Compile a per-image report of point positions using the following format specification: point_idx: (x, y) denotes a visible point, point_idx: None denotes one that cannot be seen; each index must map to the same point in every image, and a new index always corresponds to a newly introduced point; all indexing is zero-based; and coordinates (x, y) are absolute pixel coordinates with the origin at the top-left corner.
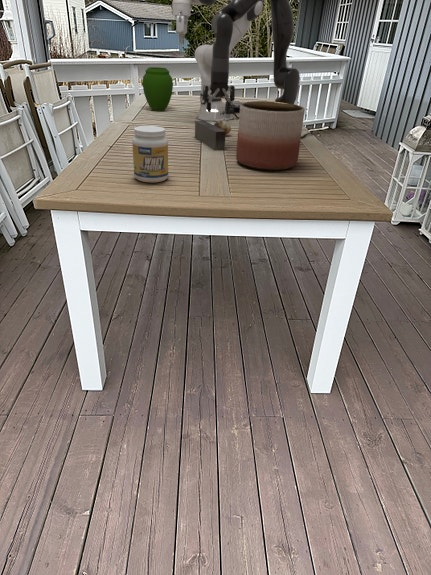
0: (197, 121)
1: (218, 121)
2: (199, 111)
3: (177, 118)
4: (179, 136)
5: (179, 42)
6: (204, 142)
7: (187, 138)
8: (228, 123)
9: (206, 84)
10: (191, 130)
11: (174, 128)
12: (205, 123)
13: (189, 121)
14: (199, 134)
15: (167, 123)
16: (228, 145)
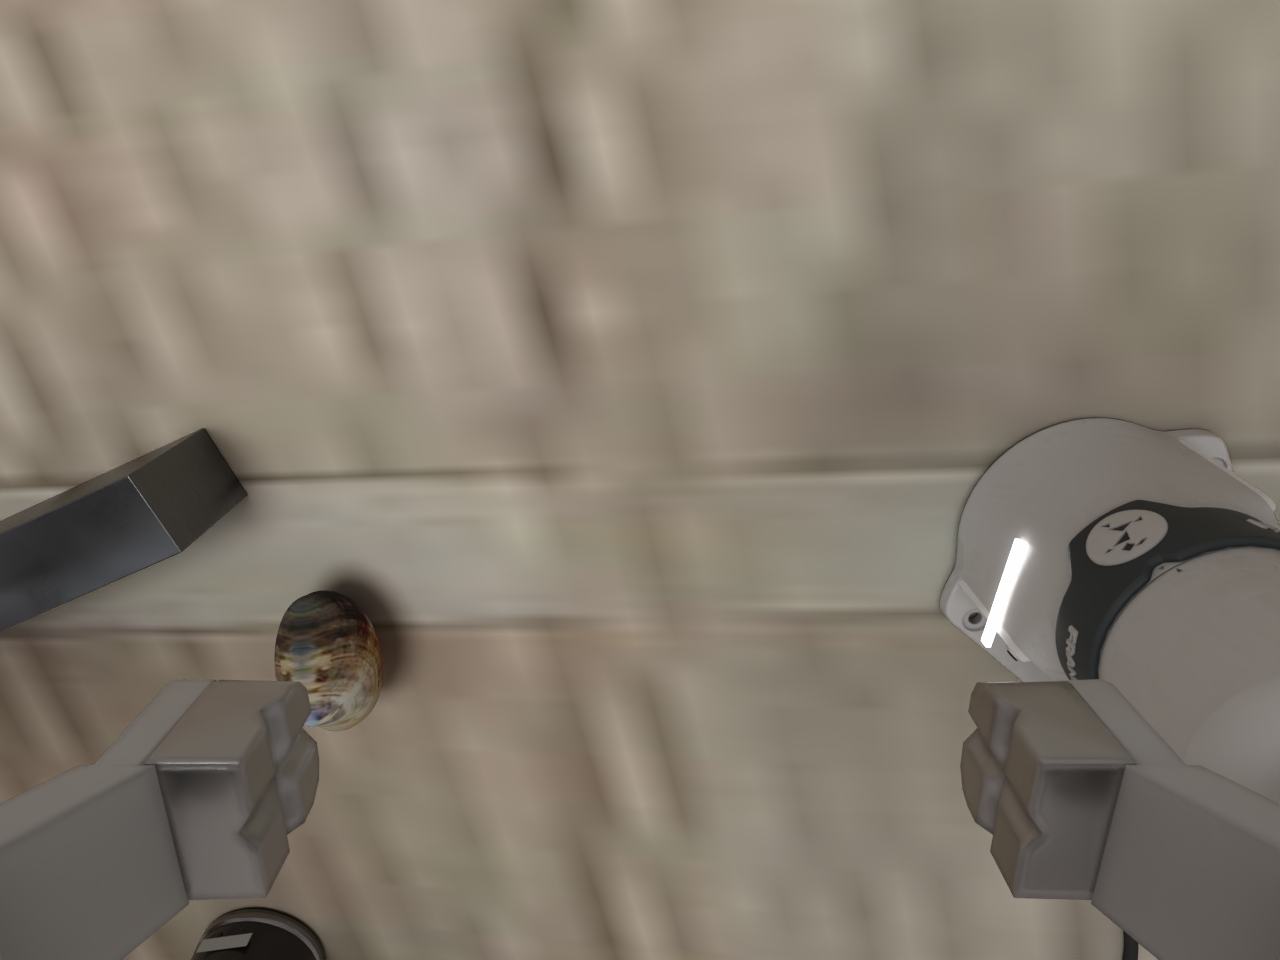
0: (99, 498)
1: (293, 661)
2: (1119, 455)
3: (1082, 199)
4: (196, 294)
5: (138, 730)
6: (23, 511)
7: (147, 368)
8: (330, 727)
9: (1192, 676)
10: (486, 384)
11: (531, 215)
12: (38, 568)
13: (922, 341)
14: (90, 483)
15: (774, 112)
16: (50, 667)
